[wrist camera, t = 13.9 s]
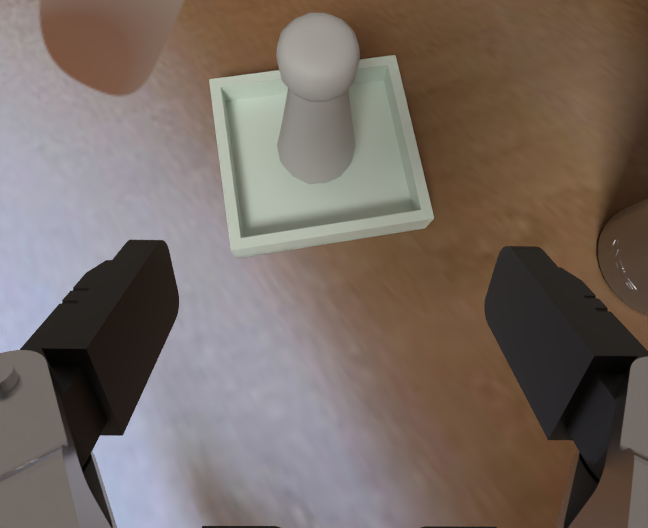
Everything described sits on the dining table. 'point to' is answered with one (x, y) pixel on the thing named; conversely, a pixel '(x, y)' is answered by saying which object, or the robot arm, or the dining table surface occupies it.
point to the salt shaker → (317, 96)
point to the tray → (320, 198)
